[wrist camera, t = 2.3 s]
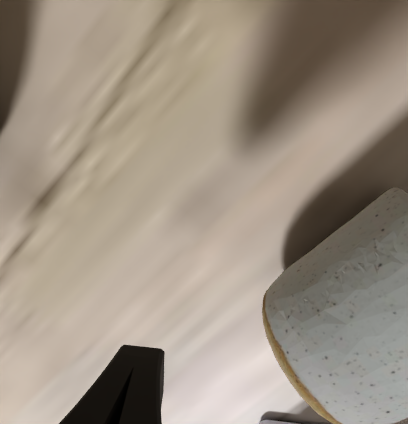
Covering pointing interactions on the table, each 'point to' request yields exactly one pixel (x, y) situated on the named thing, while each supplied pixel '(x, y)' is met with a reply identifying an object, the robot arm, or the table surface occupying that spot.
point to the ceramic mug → (348, 318)
